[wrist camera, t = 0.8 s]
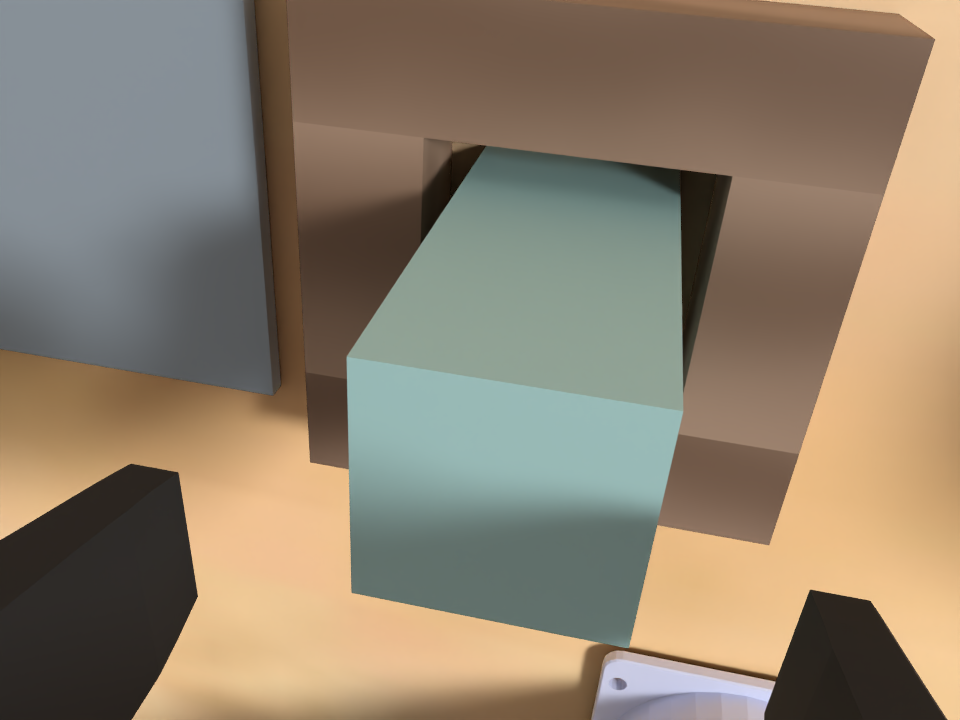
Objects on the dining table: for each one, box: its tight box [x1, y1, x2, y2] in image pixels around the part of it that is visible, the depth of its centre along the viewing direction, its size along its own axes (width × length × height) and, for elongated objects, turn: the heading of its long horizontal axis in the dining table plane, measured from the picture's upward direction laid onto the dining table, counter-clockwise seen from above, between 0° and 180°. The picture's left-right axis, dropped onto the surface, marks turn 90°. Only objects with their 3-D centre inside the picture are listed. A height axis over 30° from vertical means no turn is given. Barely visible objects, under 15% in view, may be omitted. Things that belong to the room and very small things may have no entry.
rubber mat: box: [0, 0, 281, 396], centre depth 20 cm, size 10×10×1 cm
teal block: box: [347, 146, 683, 648], centre depth 15 cm, size 4×4×9 cm
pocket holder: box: [286, 0, 935, 545], centre depth 17 cm, size 10×10×2 cm
